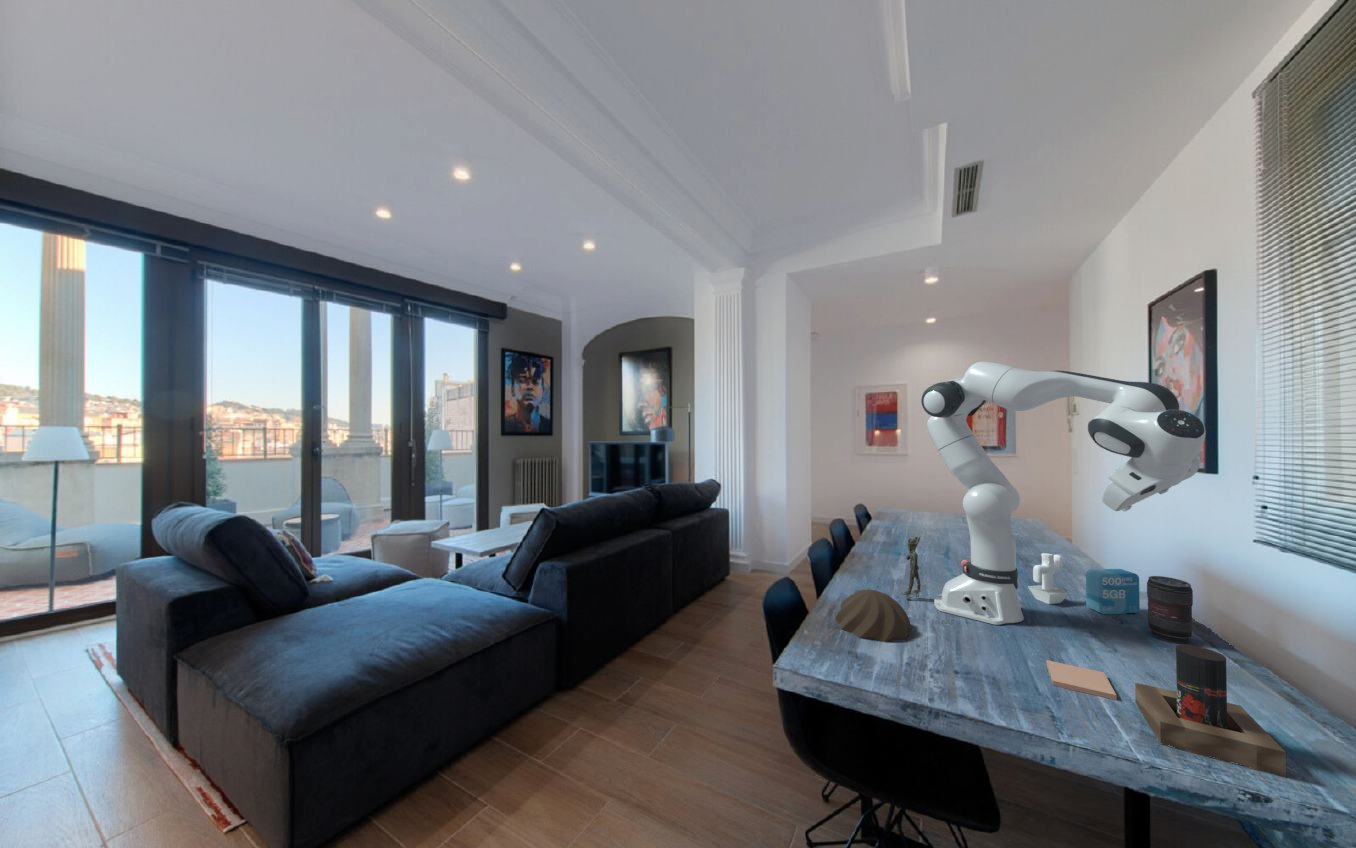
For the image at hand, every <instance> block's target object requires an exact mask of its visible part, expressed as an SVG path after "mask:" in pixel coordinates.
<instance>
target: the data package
mask: <svg viewBox="0 0 1356 848" xmlns="http://www.w3.org/2000/svg"><path fill="white" fill-rule="evenodd" d="M1140 601H1141V600H1140V577H1139V575H1138V574H1137V573H1135V572H1132V571H1129V570H1126V569H1122V568H1093V569H1092V568H1091V569H1088V570H1086V572H1085V604H1086V607H1087V608H1088V609H1090V610H1093V611H1095V612H1097V613H1099V614H1102V615H1127V614H1126V613H1136V614H1138V613H1139V611H1140V610H1141V609H1140V607H1141V605H1140Z"/></svg>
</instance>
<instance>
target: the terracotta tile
mask: <svg viewBox="0 0 1356 848" xmlns="http://www.w3.org/2000/svg"><path fill="white" fill-rule="evenodd" d="M1045 660H1046V659H1045ZM1045 664H1046V668H1047V671H1048V674H1049V676H1050V680H1051V682H1052V686H1055V687H1059V688H1064V689H1067V690H1072V691H1077V692H1081V693H1085V694H1088V695H1093V696H1096V697H1101V698H1106V699H1110V700H1114V701H1117V696H1118V695H1117V693H1116V691H1115V690H1114V688H1113V686H1112V685H1111V683H1110V681H1109V679H1108V677H1107V676H1106V674H1105V672H1104V671H1099V670H1094V669H1091V668H1090V669H1089V668H1086V667H1085V668H1084V667H1081V666H1080V667H1079V666H1076V665H1072V664H1067V663H1062V662H1057V661H1053V660H1048V659H1047V660H1046V663H1045Z"/></svg>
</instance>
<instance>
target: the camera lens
mask: <svg viewBox="0 0 1356 848" xmlns="http://www.w3.org/2000/svg"><path fill="white" fill-rule="evenodd" d="M1193 591H1194V590H1193V588H1192V585H1191V583H1189V582H1188V581H1185V580H1181V579H1178V578H1173V577H1168V576H1162V575H1161V576H1160V575H1151V576H1148V579H1147V582H1146V594H1147V610H1148V611H1147V622H1148V627H1149V628H1150V631H1151V635H1152V636H1153V637H1156V638H1157V639H1160V640H1163V641H1166V642H1171V643H1175V644H1184V645H1186V644H1190V639H1191V637H1192V635H1193V634H1192V633H1193V628H1194V627H1193V601H1194V600H1193V599H1194V597H1193V596H1194V594H1193Z"/></svg>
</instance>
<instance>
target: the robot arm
mask: <svg viewBox="0 0 1356 848" xmlns="http://www.w3.org/2000/svg"><path fill="white" fill-rule="evenodd" d="M1070 397H1076V398H1077V397H1079V398H1084V399H1089V400H1092V401H1095V402H1096V401H1097V402H1101V403H1106V404H1107V403H1108V404H1109V405H1107V406H1106V407H1104V408H1103V409H1102V410H1101V411H1100V412H1099V413H1097V414H1096V415H1095V416H1094V417H1092V419H1091V420H1090V421H1089V422H1088V424H1087V431H1088V434H1089V436H1090V438H1091V439H1092V440H1093V443H1095V444H1096V445H1097V446H1098V447H1100V448H1102V449H1103V450H1106V451H1108V452H1111V453H1113V454H1116V455H1117V454H1118V455H1120V456H1125V457H1128V458H1129V460H1127V462H1125V463H1124V464H1123V465H1122V466H1120V467H1119V468H1118V469H1115V471H1113V472H1112V473H1110V475H1109V477H1108V479H1109V480H1110V482H1109V483H1108V484H1107V486H1106V487H1105V490H1104V492H1103V496H1102V503H1103V504H1104V505H1106V506H1107V507H1108V508H1110V509H1112V510H1113V511H1114V512H1119V511H1122V512H1124V513H1125V512H1127V511H1129V510H1131V508H1132V507H1133V505H1134V504H1136V503H1139V502H1141V501H1143V500H1145V499H1147V498H1149V497H1151V496H1154V495H1156V494H1159V495H1164V494H1165V493H1167V492H1168V491H1169V490H1170V489H1171V488H1172V487H1174V486H1175V487H1176V486H1177V485H1179V484H1180V483H1182V482H1184V481H1185V480H1188V479H1190V478H1192V477H1193V476H1195V475H1196V474H1197V473H1198V471H1199V469H1200V465H1201V462H1202V461H1201V459H1200V458H1199V457H1200V455H1201V453H1202V451H1201V449H1202V447H1203V445H1204V442H1205V439H1206V434H1207V433H1206V427H1205V424H1204V422H1203V421H1202V419H1201V418H1199V417H1198V416H1197V415H1195V414H1193V413H1191V412H1189V411H1185V410H1181V409H1180V403H1179V400H1178V398H1177V396H1176V394H1175V393H1174V392H1173V391H1172V390H1170V389H1169V388H1168V387H1166V386H1164V385H1161V384H1159V383H1155V382H1147V381H1130V380H1129V381H1127V380H1119V379H1115V378H1110V377H1109V378H1108V377H1102V376H1099V375H1098V376H1097V375H1091V374H1086V373H1080V372H1075V371H1073V372H1072V371H1068V370H1049V371H1048V370H1047V371H1037V370H1036V371H1035V370H1029V369H1028V370H1027V369H1023V368H1019V367H1016V366H1015V367H1014V366H1011V365H1007V364H1003V363H998V362H991V361H978V362H975V363H973V364H972V365H970V366H968V368H967V370H966V371H965V373H964V376H963V377H956V378H951V379H948V380H945V381H942V382H937V383H934V384H932V385H931V386H929V387H928V388H926V389H925V390H924V391H923V393H922V395H921V406H922V408H923V410H924V411H925V413H927V415H929V416H930V417H929V418H928V419H927V423H926V428H927V431H928V434H929V436H930V439H931V440H932V443H933V444H934V446H935V449H936V450H937V452H938V453H939V455H940V457H941V459H942V460H943V461H944V464H945V466H947V468H948V470H949V471H950V473H951V474H952V475H953V476H954V477H955V478H956V479H957V480H958V481H959V482H960V484H962V485H963V486H964V488H965V489H966V490H967V492H966V493H965V494H964V497H963V499H962V507H963V510H964V512H965V516H966V522H967V527H968V530H969V537H970V539H969V540H970V561H969V560H967V559H962V561H961V566H962V574H960V575H958V576H956V577H953V578H951V579H949V580H947V581H946V583H945V584H944V585H943V588H942V593H941V594H938V595H936V596H934V602H933V604H934V607H935V608H936V609H937V610H938V611H940V612H943V613H948V614H951V615H955V616H957V617H958V616H959V617H963V618H967V619H971V620H976V621H979V622H982V623H983V622H984V623H988V624H990V625H991V624H992V625H996V626H1001V625H1004V624H1015V623H1019V622H1022V621H1024V619H1025V618H1024V614H1023V612H1022V608H1021V604H1020V600H1019V593H1018V589H1019V576H1020V575H1019V572H1018V571H1019V570H1018V568H1017V554H1016V553H1017V552H1016V550H1017V549H1016V547H1017V546H1016V539H1015V537H1014V536H1015V535H1014V533H1013V531H1014V530H1013V526H1012V520H1011V517H1012V514H1013V513H1015V512H1016V510H1017V509H1018V508H1019V505H1020V501H1021V500H1020V498H1021V497H1020V494H1019V492H1018V490H1017V489H1016V487H1014V486H1013V484H1011V482H1010V481H1009V479H1008V478H1007V477H1006V476H1005V475H1004V474H1003V472H1002V471H1001V470H1000V469H999V467H998V466H997V465H996V464H995V463H994V462H993V460H992V459H991V458H990V457H989V455H988V454H987V453H986V451H985V449H984V448H983V446H982V445H981V443H980V442H979V440H978V438H977V436H975V433H973V431H972V429H971V428H970V426H969V424H968V422H967V418H968V417H972V416H974V415H975V414H976V412H978V410H980V408H981V407H983V406H984V405H985V404H986V402H989V403H991V404H993V405H996V406H998V407H1001V408H1003V409H1006V410H1010V411H1015V412H1023V411H1024V412H1025V411H1029V410H1033V409H1036V408H1038V407H1041V406H1042V405H1045V404H1047V403H1048V404H1049V402H1054V401H1056V400H1059V399H1062V398H1070Z"/></svg>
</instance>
